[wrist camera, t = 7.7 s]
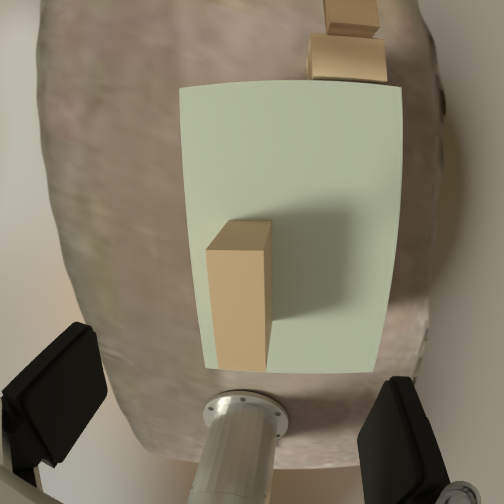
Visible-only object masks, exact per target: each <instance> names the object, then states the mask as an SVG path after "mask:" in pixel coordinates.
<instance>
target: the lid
mask: <svg viewBox="0 0 504 504" xmlns="http://www.w3.org/2000/svg"><path fill="white" fill-rule="evenodd" d="M179 95H180V123H181V143H182V161H183V176H184V189H185V202H186V214H187V225H188V235H189V245H190V255H191V264H192V273H193V281H194V289H195V297H196V305H197V313H198V320H199V327H200V334H201V341H202V348H203V354H204V360H205V367H206V368H211V369H223V370H236V371H251V372H272V373H360V372H373V369H374V366H375V361H376V357H377V353H378V349H379V344H380V340H381V335H382V331H383V326H384V321H385V316H386V310H387V305H388V299H389V294H390V288H391V281H392V275H393V268H394V260H395V253H396V244H397V235H398V226H399V214H400V202H401V185H402V160H403V115H402V90H401V87H396V86H388V85H379V84H369V83H357V82H342V81H320V80H270V81H248V82H233V83H221V84H211V85H202V86H193V87H186V88H179Z"/></svg>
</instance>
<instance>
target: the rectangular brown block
mask: <svg viewBox="0 0 504 504" xmlns="http://www.w3.org/2000/svg"><path fill="white" fill-rule="evenodd" d="M323 4H324V13H325V23H326V35H337V36H351V37H361V38H370V39H371V38H372V36H373V35H374V34H375V33H376V31H377V30H378V29H379V28H380V23H379V16H378V9H377V3H376V0H323Z"/></svg>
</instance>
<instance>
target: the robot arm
mask: <svg viewBox="0 0 504 504" xmlns="http://www.w3.org/2000/svg"><path fill="white" fill-rule="evenodd" d="M2 393H3V396H2V397H1V398H0V504H63V503H61V502H59V501H58V500H56V499H54V498H52V497H51V496H49V495H47V494H45V493H44V492H43V489H42V484H41V479H40V474H39V469H38V464H39V463H40V462H41V461H42V462H44V463H46V464H47V465H49V466H51V467H53V468H55V466H56V465H57V463H61V462H63V461H64V459H65V458H66V456H67V455H68V453H69V451H70V450H71V448H72V447H73V445H74V444H75V442H76V441H77V439H78V438H79V436H80V435H81V433H82V432H83V430H84V429H85V427H86V426H87V424H88V423H89V421H90V420H91V418H92V417H93V416H94V414H95V413H96V411H97V410H98V408H99V407H100V405H101V404H102V402H103V401H104V399H105V398H106V396H107V384H106V380H105V376H104V372H103V367H102V362H101V357H100V352H99V347H98V342H97V336H96V333H95V332H94V331H93V329H92V327H91V326H89V325H86V324H83V323H80V322H74V323H72V324H71V325H70V326H69V327H68V328H67V329H66V330H65V331H64V332H63V333H61V334H60V335H59V336H58V337H57V338H56V339H55V340H54V341H53V342H52V343H51V344H50V345H48V346H47V348H45V349H44V350H43V351H42V352H41V353H40V354H39V355H38V356H37V357H36V358H35V359H34V360H33V361H32V362H31V363H30V364H29V365H28V366H26V367H25V368H24V369H23V370H22V371H21V372H20V373H19V374H18V375H17V376H16V377H15V378H14V379H13V380H12V381H11V382H10V383H9V384H8V385H7V386H6V387H5V388H4V389H3V390H2ZM203 418H204V422H205V424H206V426H207V427H208V428H209V432H208V435H207V439H206V442H205V445H204V449H203V452H202V455H201V459H200V462H199V466H198V468H197V472H196V475H195V479H194V482H193V485H192V488H191V492H190V495H189V498H188V502H187V504H269V501H270V492H271V484H272V474H273V466H274V457H275V447H276V440H278V439H279V438H281V437H282V436H283V435H284V434H285V433H286V431H287V429H288V421H289V419H288V415H287V413H286V411H285V409H284V408H283V407H282V406H281V405H280V404H279V403H277V402H276V401H275V400H273V399H271V398H269V397H267V396H264V395H261V394H258V393H253V392H247V391H230V392H224V393H221V394H218V395H216V396H214V397H212V398H211V399H210V400H209V401H208V402H207V404H206V405H205V408H204V411H203ZM357 444H358V452H359V459H360V467H361V474H362V483H363V491H364V500H365V504H481V497H480V494H479V492H478V490H477V489H476V488H475V487H474V486H473V485H472V484H470V483H468V482H465V481H455V482H452V483H450V480H449V477H448V474H447V471H446V467H445V464H444V461H443V459H442V456H441V452H440V450H439V447H438V444H437V441H436V438H435V436H434V433H433V430H432V427H431V425H430V422H429V420H428V418H427V417H426V415H425V413H424V410H423V407H422V405H421V402H420V400H419V397H418V395H417V392H416V390H415V387H414V385H413V382H412V380H411V378H410V377H403V376H393V377H391V378H390V380H389V381H385V382H384V384H383V386H382V388H381V391H380V393H379V395H378V397H377V399H376V401H375V403H374V405H373V407H372V409H371V411H370V413H369V415H368V417H367V419H366V421H365V423H364V425H363V426H362V428H361V430H360V432H359V434H358V439H357Z"/></svg>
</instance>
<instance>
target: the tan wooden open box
mask: <svg viewBox="0 0 504 504" xmlns="http://www.w3.org/2000/svg"><path fill="white" fill-rule="evenodd" d="M306 80H320V81H342V82H357V83H369V84H379V85H382V84H384V83H385V82H387V68H386V56H385V46H384V39H379V38H371V39H370V38H361V37H351V36H337V35H326V34H318V33H311V36H310V42H309V48H308V54H307V60H306Z"/></svg>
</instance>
